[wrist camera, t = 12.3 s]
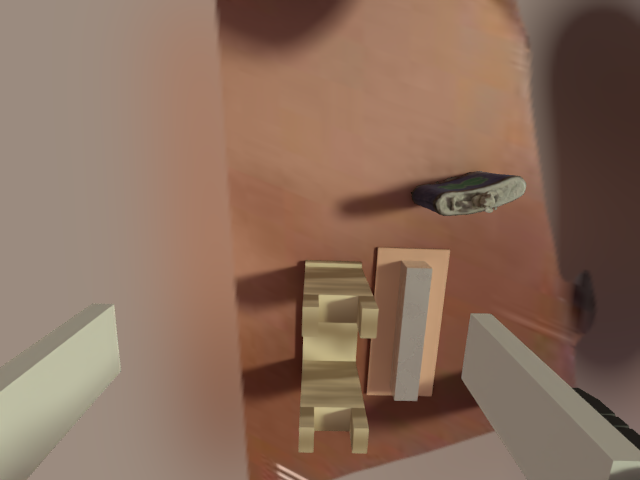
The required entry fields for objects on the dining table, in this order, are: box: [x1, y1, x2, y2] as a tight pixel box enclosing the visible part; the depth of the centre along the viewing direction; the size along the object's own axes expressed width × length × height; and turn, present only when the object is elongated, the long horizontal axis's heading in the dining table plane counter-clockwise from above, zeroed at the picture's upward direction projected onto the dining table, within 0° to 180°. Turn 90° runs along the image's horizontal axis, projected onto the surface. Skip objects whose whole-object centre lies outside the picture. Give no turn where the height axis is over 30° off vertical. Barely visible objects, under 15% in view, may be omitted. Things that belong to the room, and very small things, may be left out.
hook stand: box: [299, 260, 379, 453], centre depth 42 cm, size 17×7×13 cm, turn 178°
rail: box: [389, 260, 432, 401], centre depth 46 cm, size 18×3×3 cm, turn 178°
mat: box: [367, 247, 450, 396], centre depth 48 cm, size 21×9×1 cm, turn 178°
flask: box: [411, 171, 526, 216], centre depth 39 cm, size 9×3×11 cm, turn 104°
